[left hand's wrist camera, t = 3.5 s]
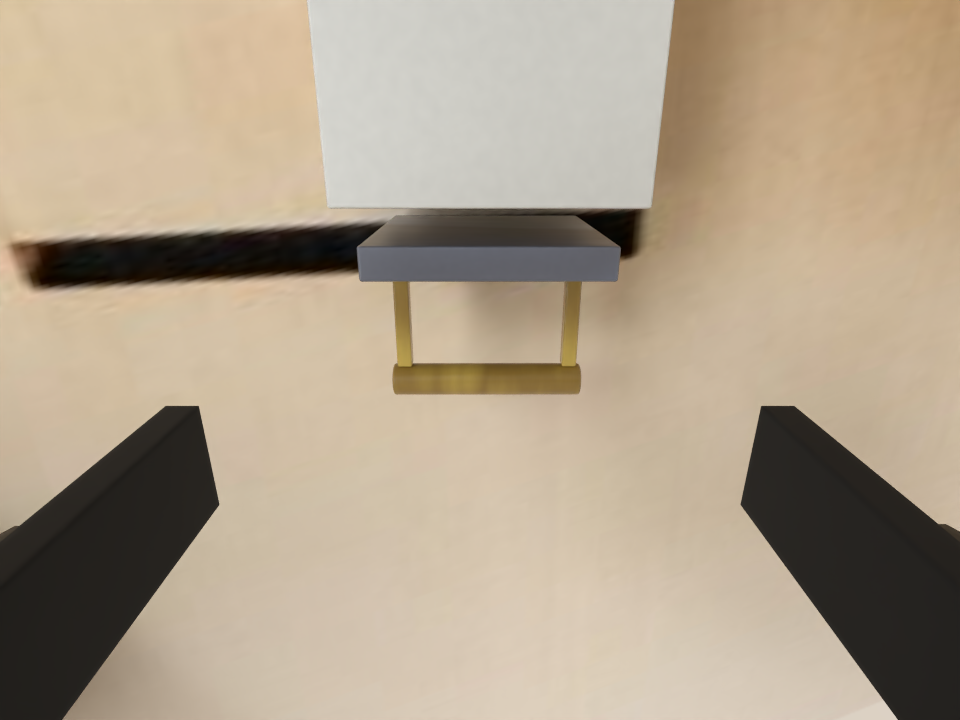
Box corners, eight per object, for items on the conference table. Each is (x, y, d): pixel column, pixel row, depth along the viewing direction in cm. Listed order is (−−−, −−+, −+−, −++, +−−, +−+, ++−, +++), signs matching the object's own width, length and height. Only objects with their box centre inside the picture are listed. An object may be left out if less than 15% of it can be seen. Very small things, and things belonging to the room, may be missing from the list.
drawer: (568, 348, 29) (604, 429, 20) (402, 348, 29) (371, 429, 20) (610, -320, 19) (709, -669, 11) (364, -321, 19) (280, -671, 11)
